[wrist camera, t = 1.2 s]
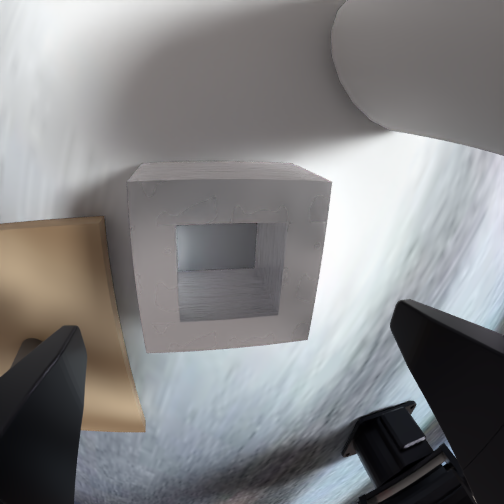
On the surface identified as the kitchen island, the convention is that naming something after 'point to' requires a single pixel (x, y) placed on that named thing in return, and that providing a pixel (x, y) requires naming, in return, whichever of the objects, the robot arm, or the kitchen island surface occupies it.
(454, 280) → the kitchen island surface
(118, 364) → the peg stand
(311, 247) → the steel collar
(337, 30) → the can
